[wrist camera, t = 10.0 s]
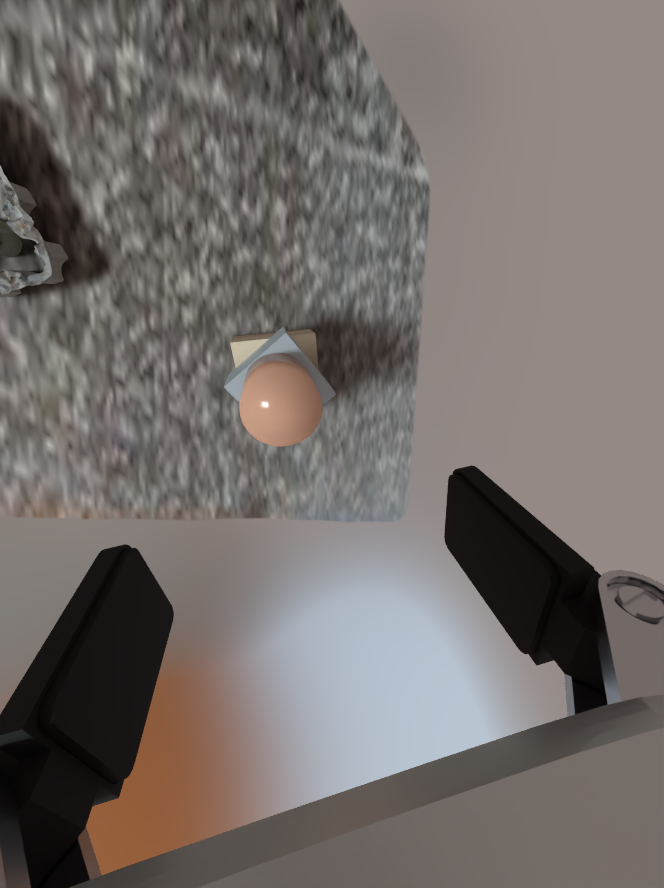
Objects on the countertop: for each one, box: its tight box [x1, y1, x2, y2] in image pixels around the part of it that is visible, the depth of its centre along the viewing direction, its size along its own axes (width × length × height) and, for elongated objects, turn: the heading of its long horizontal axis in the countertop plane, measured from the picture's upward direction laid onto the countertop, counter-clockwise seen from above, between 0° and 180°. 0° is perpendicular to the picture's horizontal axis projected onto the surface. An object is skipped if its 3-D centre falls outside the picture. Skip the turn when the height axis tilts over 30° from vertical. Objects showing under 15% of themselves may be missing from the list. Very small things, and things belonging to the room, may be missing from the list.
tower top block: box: [224, 327, 336, 406], centre depth 25 cm, size 6×6×4 cm
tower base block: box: [230, 329, 323, 411], centre depth 29 cm, size 7×7×4 cm
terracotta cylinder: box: [240, 353, 322, 446], centre depth 21 cm, size 5×5×5 cm
